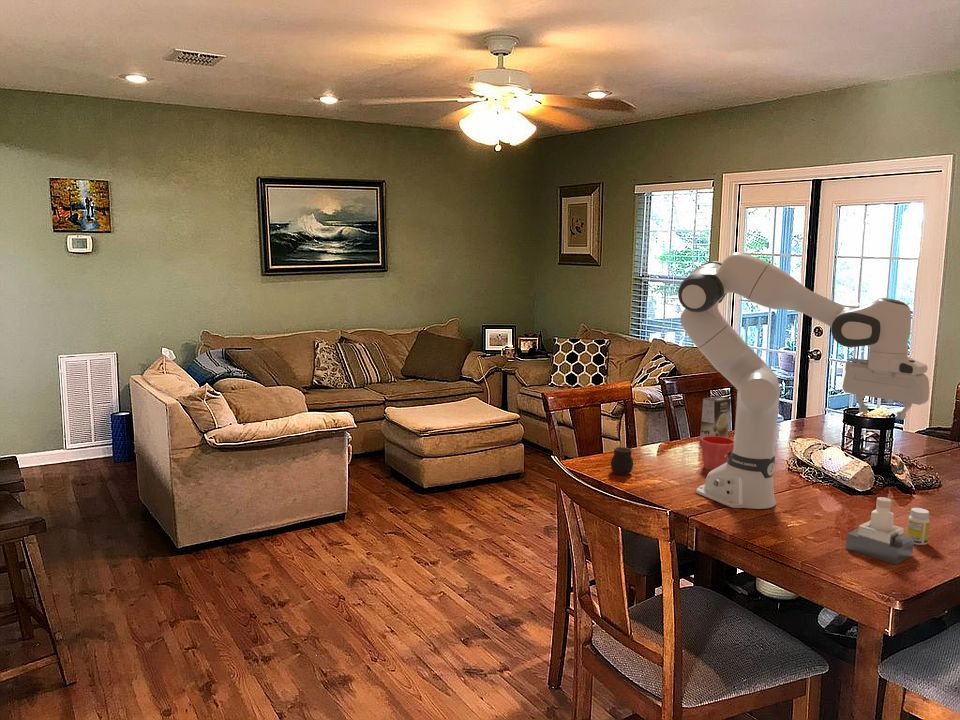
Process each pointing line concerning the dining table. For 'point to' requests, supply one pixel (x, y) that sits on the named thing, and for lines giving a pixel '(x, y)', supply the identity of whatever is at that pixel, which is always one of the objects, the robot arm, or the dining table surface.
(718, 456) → the flower pot
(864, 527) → the block
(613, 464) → the mate gourd
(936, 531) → the dining table surface
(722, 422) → the coffee box
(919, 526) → the supplement bottle
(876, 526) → the white bottle
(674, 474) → the dining table surface
